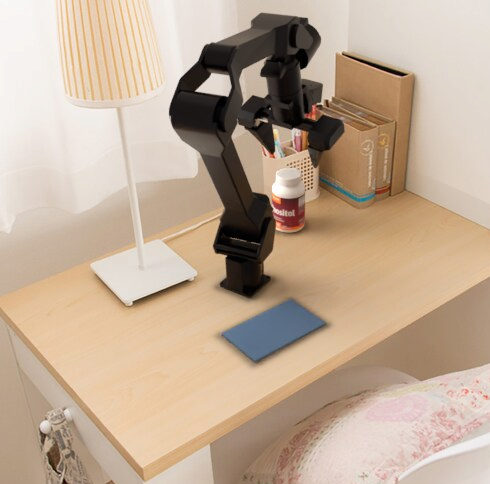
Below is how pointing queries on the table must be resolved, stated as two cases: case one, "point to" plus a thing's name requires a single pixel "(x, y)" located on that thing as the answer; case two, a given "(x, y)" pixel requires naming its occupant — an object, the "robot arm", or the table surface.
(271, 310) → the napkin
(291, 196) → the pill bottle
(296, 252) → the table surface
